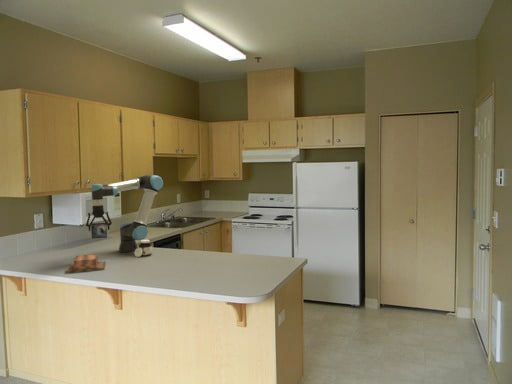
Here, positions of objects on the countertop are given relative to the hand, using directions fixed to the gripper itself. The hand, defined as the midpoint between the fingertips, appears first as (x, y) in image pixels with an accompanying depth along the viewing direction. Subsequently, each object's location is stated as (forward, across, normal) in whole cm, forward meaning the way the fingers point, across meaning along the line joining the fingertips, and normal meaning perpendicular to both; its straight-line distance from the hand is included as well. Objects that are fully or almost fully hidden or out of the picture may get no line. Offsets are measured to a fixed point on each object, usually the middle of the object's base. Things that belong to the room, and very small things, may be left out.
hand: (99, 234), depth 309 cm
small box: (+2, 0, 0) cm, 2 cm away
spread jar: (+20, +31, +4) cm, 37 cm away
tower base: (+19, -8, -20) cm, 29 cm away
